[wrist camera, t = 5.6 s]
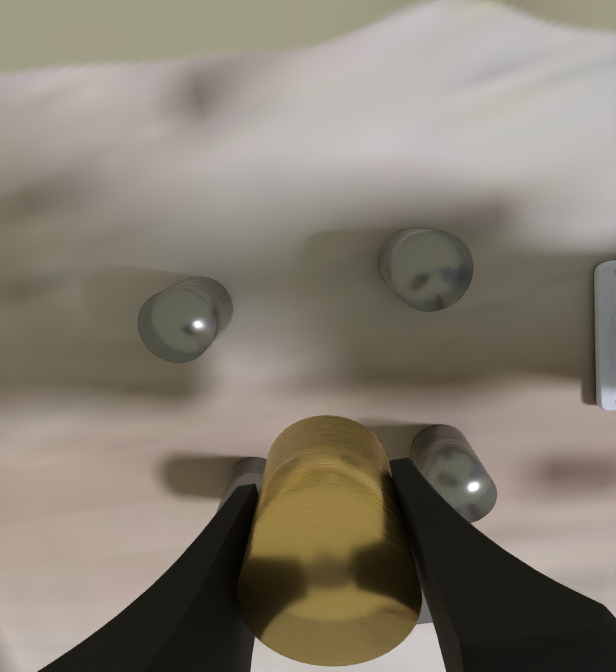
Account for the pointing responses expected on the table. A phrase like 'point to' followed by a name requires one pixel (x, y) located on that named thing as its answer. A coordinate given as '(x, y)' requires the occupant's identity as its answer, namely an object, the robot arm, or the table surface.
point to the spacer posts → (411, 286)
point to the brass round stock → (328, 549)
